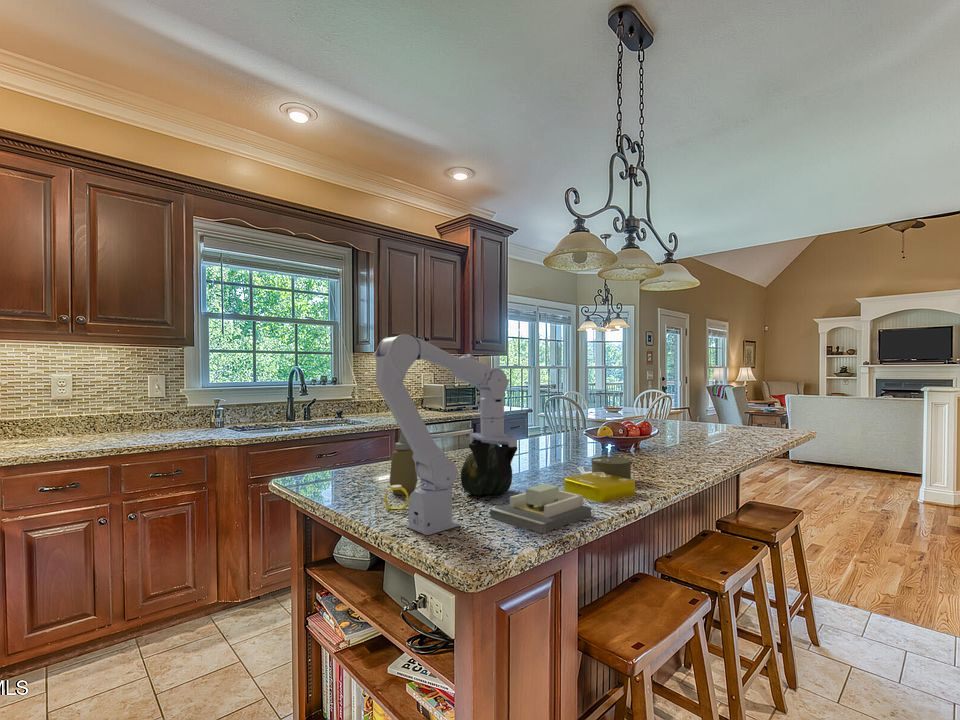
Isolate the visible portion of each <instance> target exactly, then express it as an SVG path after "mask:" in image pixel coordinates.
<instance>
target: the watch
mask: <svg viewBox="0 0 960 720" xmlns="http://www.w3.org/2000/svg"><path fill="white" fill-rule="evenodd" d="M399 489H400V490H402V491H404V493H405V494H406V495H405V496H406V502H405V504H403V505H402V506H391V505H390V504H389V502H388V500H387V498H388V494H389V492H391V491H392V490H399ZM409 496H410V495H409V494H408V493H407V491H406V490H405V489H404V488H402V486H401V485H392V486H391V485H390V488H389V489H388V490H387V491H386V493H385V495H384V504H385V506H386V508H388V509H389V510H390V509H402V510H404V509H405V508H406V507H407V505H408V504H409Z"/></svg>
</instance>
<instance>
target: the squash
mask: <svg viewBox="0 0 960 720" xmlns="http://www.w3.org/2000/svg"><path fill="white" fill-rule="evenodd" d="M500 446H501V445H497V444H491V443H490V446H489V450H488V455H487V469H486V471H483V472H478V468H477V464H476V460H475V457H474V455H473V453H472V452H471V453H470V454H468V456H467V457H466V458H465V460H464V462H463V465H462V467H461V469H460V482H461V486H462V488H463V490H464V491H465V492H466V493H467V494H469V495H472V496H477V497H479V496H482V495H484V494H485V495H491V494H492V495H498V494H499V495H503V494H505V493H507V492H508V491H509V490H510V489H511V486H512V481H513V467H512V465H510V469H509V473H508V476H505V477H500V473H499V461H498V456H497V453H496V450H495V447H500Z"/></svg>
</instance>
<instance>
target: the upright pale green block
mask: <svg viewBox="0 0 960 720" xmlns="http://www.w3.org/2000/svg"><path fill="white" fill-rule="evenodd" d="M559 490H560V487H559V486H558V485H554V484H553V485H552V484H549V483H548V484H547V483H542V484H538V485H534V486H530V487H526V488H525V493H526V503H527V506H528V507H530V508H532V507H533V506H534V505H536V506H538V508H539V510H541V511H544V505H547V504H550V503H554V502H557V501H559Z"/></svg>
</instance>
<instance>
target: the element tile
mask: <svg viewBox="0 0 960 720" xmlns="http://www.w3.org/2000/svg"><path fill="white" fill-rule="evenodd" d="M563 481H564V483H563V484H564V491H565V492H570V493H574V494H579V495H583V499H585V498H586V499H585V500H588V499H589V500H588V501H592V500H593V501H592V502H595V501H596V503H608V502H607V501H609V502H612V501H611V500H613V501H616V500H615V499H618V500H620V499H619V498H622V499H624V498H623V497H626V498H629V497H628V496H630V497H633V496H632V495H634V496H636V481H635V480H634V479H632V478H631V479H627V478H623V477H619V476H614V475H610V474H605V473H603V472H593V473H592V472H590V473H582V474H578V475H577V474H576V475H573V476H567V477H564V480H563Z"/></svg>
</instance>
